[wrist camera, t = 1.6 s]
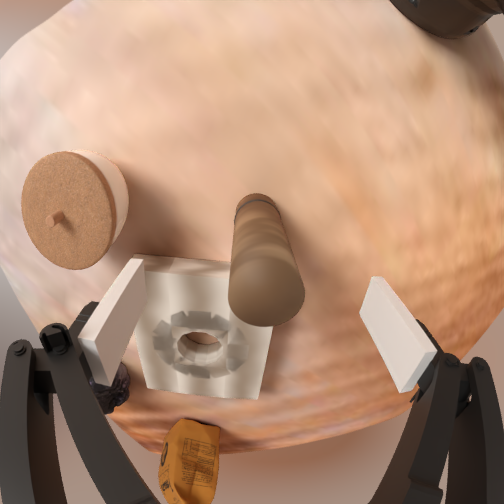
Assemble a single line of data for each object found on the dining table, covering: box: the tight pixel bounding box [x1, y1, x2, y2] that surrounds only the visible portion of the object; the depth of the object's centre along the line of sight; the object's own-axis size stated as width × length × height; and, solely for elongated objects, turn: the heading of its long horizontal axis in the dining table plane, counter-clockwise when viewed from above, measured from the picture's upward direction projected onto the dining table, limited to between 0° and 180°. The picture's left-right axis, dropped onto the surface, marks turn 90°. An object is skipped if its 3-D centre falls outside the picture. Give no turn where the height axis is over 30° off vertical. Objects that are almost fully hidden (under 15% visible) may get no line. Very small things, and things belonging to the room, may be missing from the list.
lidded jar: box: [21, 150, 129, 270], centre depth 22 cm, size 11×11×9 cm
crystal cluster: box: [89, 363, 130, 414], centre depth 35 cm, size 13×14×10 cm
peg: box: [228, 193, 305, 327], centre depth 21 cm, size 4×4×15 cm
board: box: [132, 254, 273, 399], centre depth 33 cm, size 16×20×4 cm
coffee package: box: [158, 418, 220, 504], centre depth 37 cm, size 10×12×22 cm
